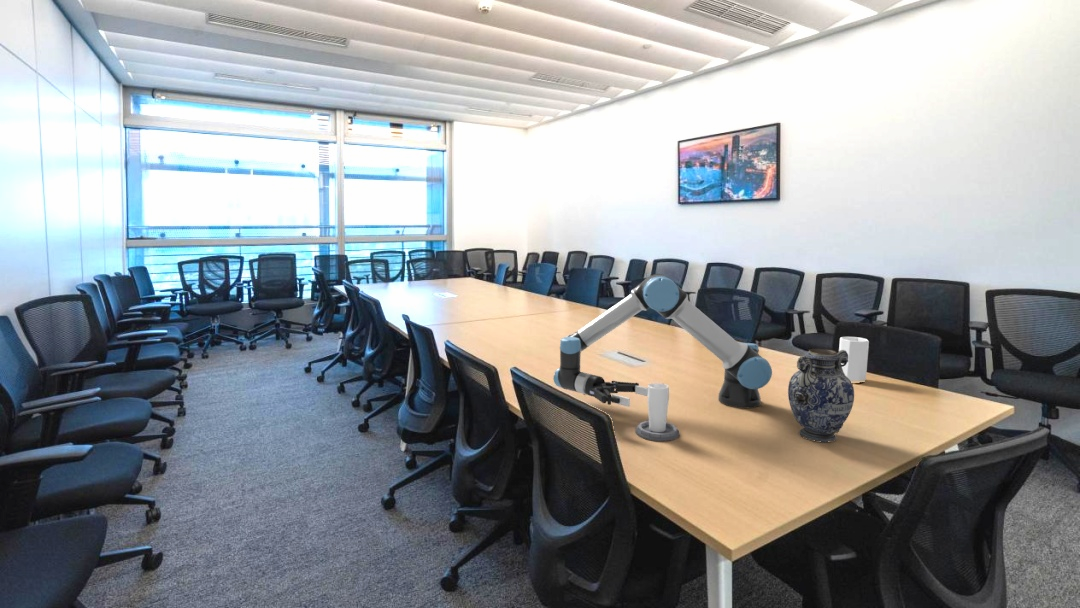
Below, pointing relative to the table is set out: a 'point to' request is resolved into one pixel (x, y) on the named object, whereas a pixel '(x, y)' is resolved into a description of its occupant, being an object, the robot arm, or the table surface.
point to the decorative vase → (821, 394)
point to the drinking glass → (658, 406)
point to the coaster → (667, 435)
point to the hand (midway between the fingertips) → (640, 397)
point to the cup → (855, 357)
